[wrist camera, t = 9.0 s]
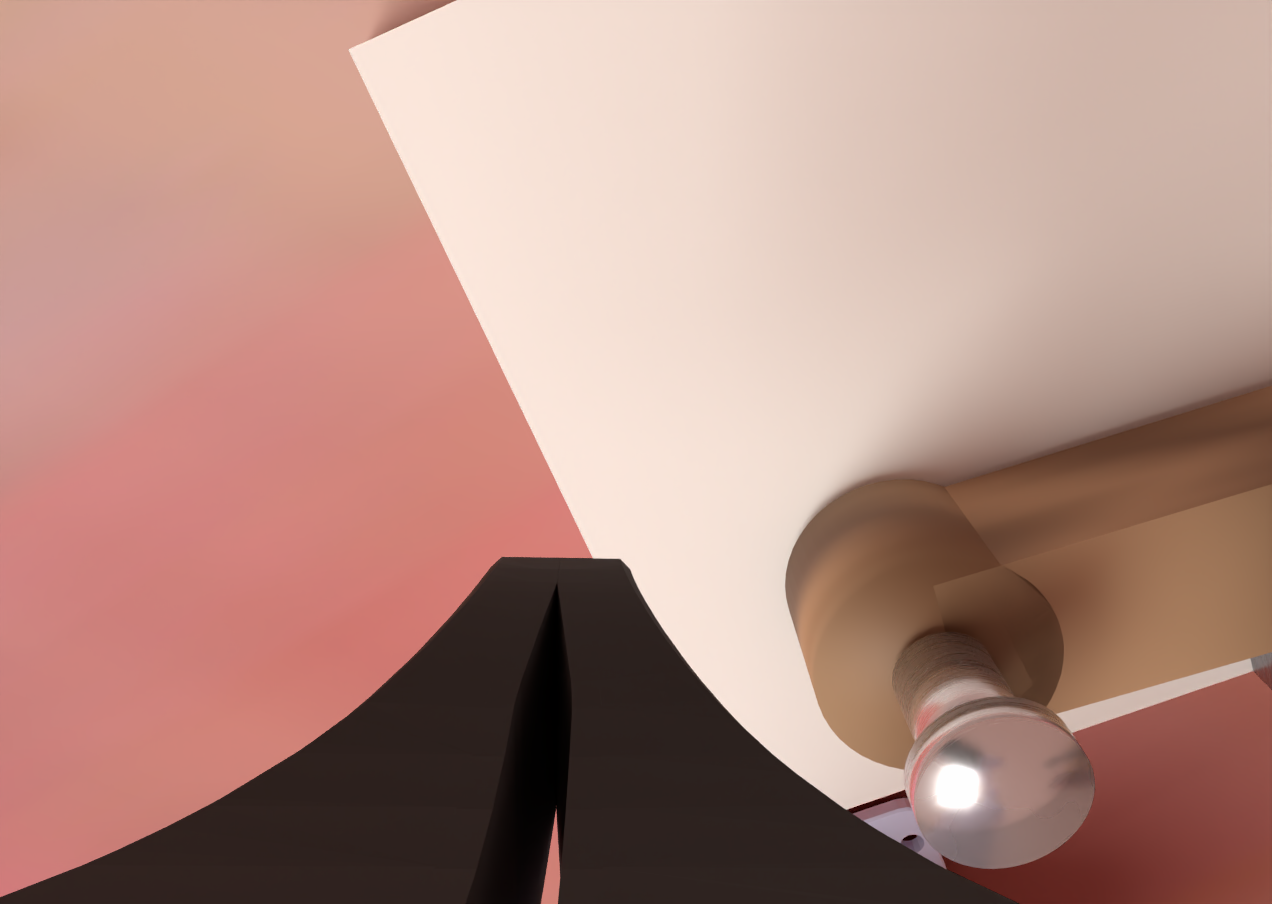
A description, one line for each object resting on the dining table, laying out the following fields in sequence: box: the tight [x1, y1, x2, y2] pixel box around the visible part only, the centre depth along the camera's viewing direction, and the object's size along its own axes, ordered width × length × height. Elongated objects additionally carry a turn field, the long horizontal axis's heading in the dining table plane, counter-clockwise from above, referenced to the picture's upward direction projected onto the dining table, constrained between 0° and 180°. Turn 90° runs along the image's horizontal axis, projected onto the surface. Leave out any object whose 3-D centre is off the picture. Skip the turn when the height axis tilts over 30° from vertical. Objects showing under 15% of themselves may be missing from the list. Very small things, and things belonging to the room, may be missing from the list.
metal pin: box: [892, 632, 1095, 869], centre depth 16 cm, size 2×2×3 cm
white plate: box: [348, 0, 1272, 810], centre depth 19 cm, size 17×23×1 cm
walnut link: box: [785, 386, 1272, 770], centre depth 18 cm, size 15×4×3 cm, turn 109°
